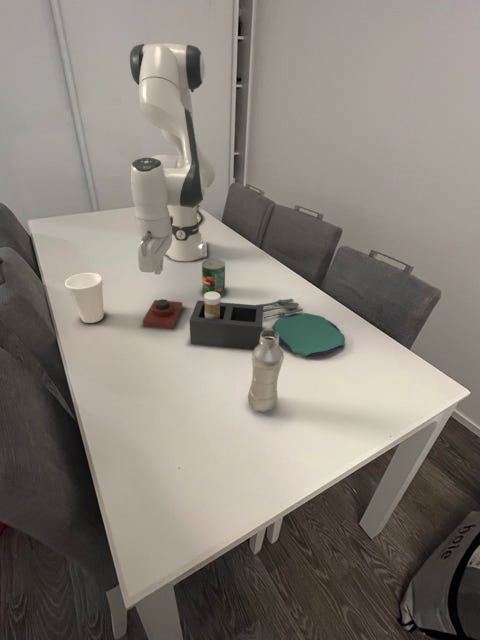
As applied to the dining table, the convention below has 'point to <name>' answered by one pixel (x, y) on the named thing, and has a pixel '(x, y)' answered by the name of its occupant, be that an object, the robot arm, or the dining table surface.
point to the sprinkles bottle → (212, 305)
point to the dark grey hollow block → (227, 326)
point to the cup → (87, 295)
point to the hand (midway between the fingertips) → (158, 272)
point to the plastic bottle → (265, 371)
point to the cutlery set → (305, 331)
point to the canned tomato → (213, 276)
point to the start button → (162, 304)
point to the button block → (163, 315)
